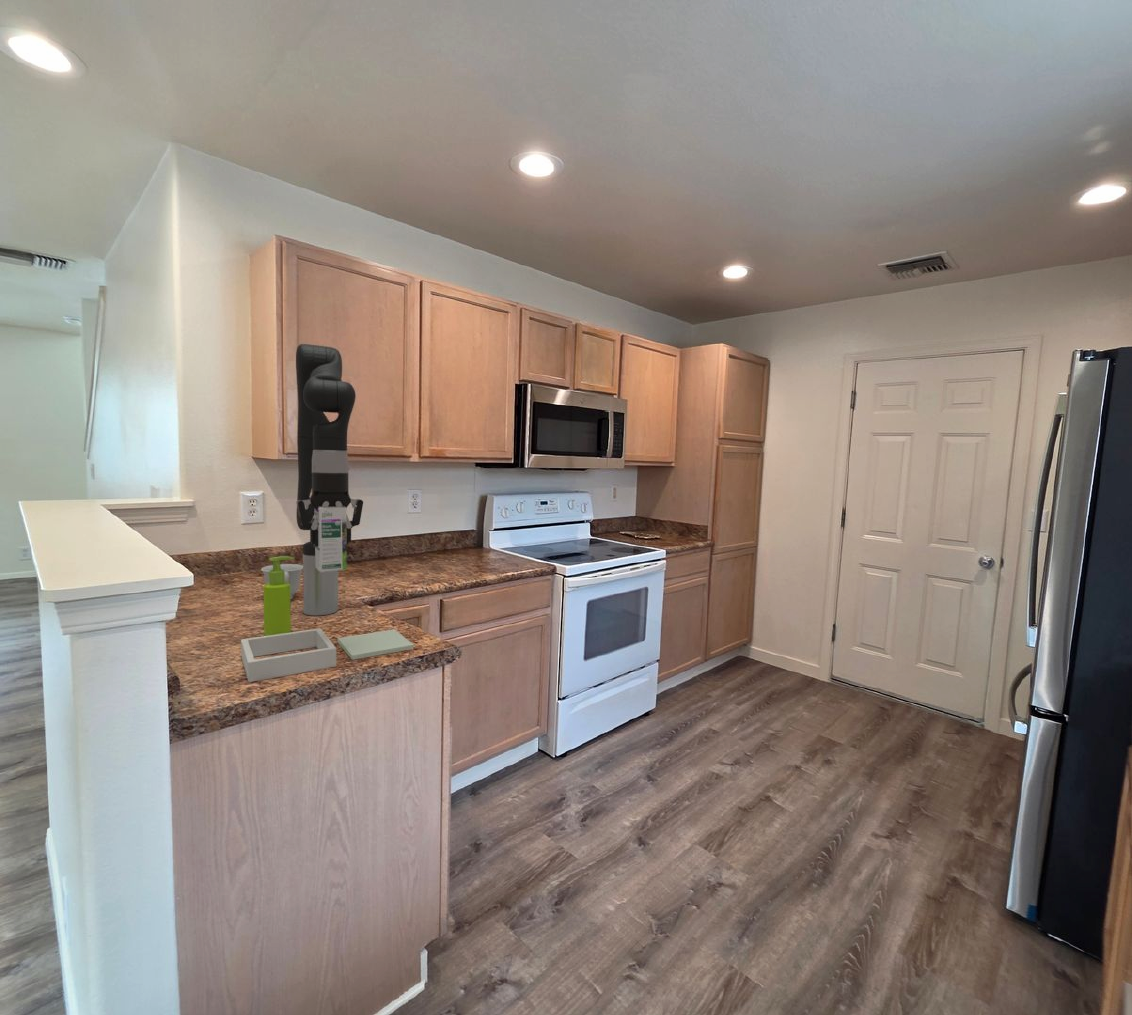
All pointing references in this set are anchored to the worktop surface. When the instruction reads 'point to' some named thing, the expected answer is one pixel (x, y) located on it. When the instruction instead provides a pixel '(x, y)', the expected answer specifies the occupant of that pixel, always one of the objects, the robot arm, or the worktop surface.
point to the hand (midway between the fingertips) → (330, 544)
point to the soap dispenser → (277, 600)
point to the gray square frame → (289, 662)
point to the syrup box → (331, 539)
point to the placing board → (374, 644)
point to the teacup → (287, 575)
